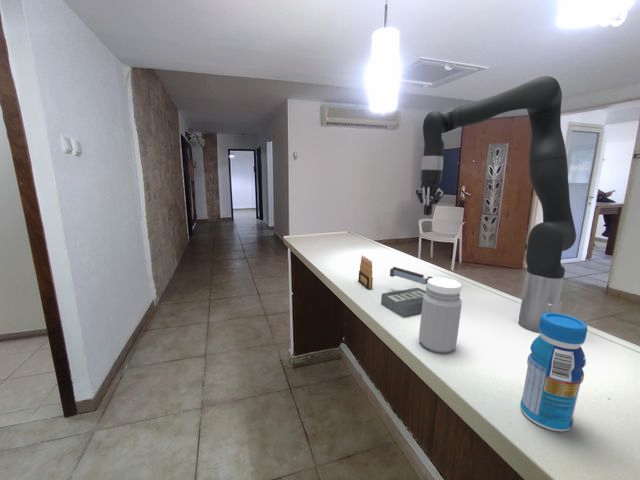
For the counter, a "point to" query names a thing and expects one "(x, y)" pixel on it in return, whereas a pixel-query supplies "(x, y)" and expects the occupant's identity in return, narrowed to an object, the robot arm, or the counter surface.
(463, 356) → the counter surface
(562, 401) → the beverage bottle
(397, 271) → the bar
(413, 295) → the grey block
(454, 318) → the jar
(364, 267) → the ammunition clip
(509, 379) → the counter surface
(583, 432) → the counter surface
